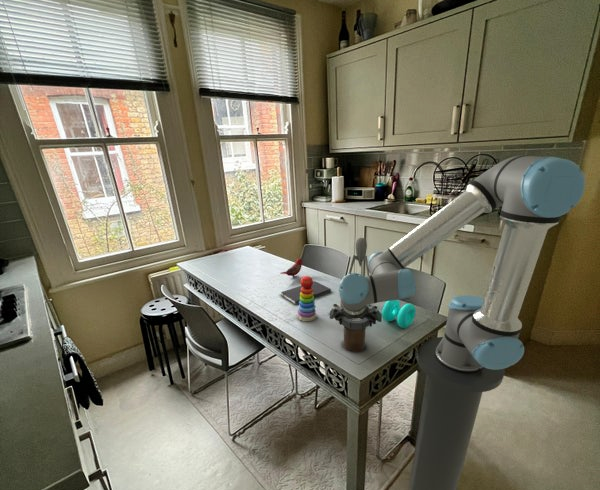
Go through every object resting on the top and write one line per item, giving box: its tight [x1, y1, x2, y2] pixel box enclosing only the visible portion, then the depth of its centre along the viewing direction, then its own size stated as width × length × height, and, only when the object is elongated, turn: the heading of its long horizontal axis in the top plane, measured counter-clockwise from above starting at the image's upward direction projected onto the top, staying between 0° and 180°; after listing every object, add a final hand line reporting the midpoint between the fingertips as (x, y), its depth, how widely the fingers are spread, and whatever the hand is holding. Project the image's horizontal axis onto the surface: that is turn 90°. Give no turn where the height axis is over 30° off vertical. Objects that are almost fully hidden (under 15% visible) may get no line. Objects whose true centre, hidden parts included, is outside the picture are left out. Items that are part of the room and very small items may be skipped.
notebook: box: [280, 280, 331, 305], centre depth 155 cm, size 13×2×21 cm
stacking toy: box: [297, 275, 317, 322], centre depth 130 cm, size 8×8×19 cm
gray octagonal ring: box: [341, 317, 370, 330], centre depth 110 cm, size 10×10×2 cm
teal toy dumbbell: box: [381, 299, 417, 329], centre depth 125 cm, size 10×10×10 cm
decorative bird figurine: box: [280, 257, 304, 279], centre depth 171 cm, size 3×18×10 cm, turn 136°
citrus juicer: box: [348, 237, 371, 307], centre depth 138 cm, size 11×10×30 cm
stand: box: [343, 326, 367, 353], centre depth 113 cm, size 8×8×8 cm
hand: (355, 322), depth 114 cm, fingers closed on gray octagonal ring, 10 cm apart
